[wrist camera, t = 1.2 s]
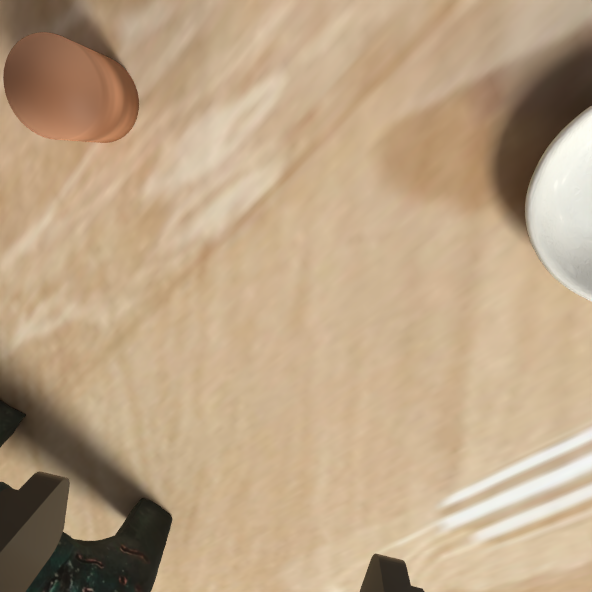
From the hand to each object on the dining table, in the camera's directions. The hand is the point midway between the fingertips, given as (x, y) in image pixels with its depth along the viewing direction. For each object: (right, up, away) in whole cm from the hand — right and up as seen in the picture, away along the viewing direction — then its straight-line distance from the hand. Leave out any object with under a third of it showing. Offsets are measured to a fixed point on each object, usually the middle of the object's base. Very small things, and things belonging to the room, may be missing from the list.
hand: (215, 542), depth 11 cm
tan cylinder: (-10, +18, +16) cm, 26 cm away
